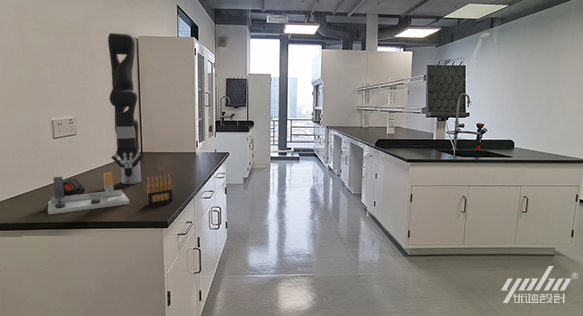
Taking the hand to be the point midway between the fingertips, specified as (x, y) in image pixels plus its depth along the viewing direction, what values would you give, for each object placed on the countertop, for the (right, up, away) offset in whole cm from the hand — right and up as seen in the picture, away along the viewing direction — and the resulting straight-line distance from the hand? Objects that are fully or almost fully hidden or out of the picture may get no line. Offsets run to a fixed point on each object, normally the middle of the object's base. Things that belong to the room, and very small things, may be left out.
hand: (128, 176), depth 161 cm
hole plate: (-12, -11, -10) cm, 19 cm away
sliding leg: (-5, -7, -6) cm, 11 cm away
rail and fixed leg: (-12, -9, -10) cm, 18 cm away
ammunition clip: (+17, -11, -8) cm, 21 cm away
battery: (-27, -9, +5) cm, 29 cm away
